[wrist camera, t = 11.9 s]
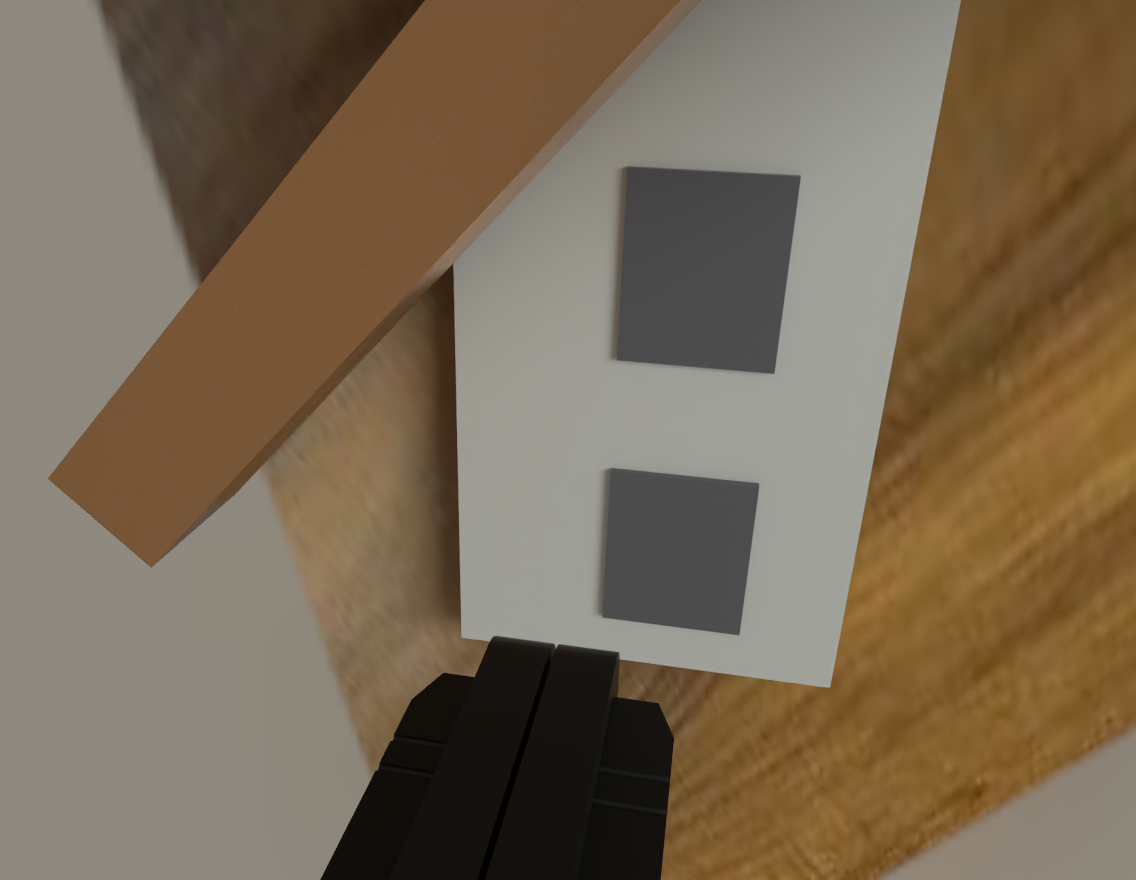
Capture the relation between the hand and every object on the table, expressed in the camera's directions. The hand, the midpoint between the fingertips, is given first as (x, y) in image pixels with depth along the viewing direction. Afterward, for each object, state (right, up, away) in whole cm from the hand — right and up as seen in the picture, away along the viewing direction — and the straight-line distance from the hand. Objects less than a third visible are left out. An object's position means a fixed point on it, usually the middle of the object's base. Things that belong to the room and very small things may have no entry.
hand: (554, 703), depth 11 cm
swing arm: (-4, +10, +16) cm, 19 cm away
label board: (+4, +8, +19) cm, 21 cm away
